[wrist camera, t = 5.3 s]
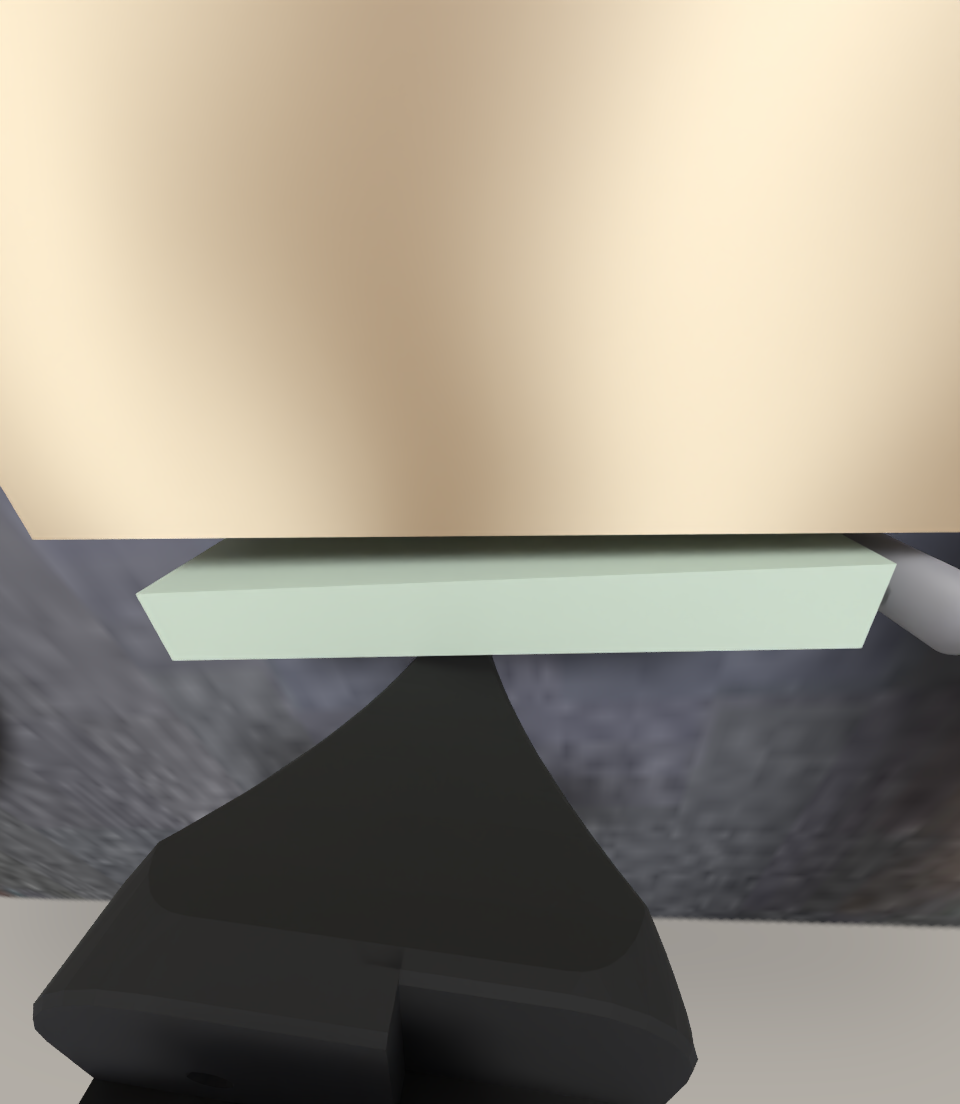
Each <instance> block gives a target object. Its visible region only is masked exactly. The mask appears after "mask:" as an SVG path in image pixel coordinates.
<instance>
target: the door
mask: <svg viewBox="0 0 960 1104" xmlns="http://www.w3.org/2000/svg"><path fill="white" fill-rule="evenodd" d="M136 596H137V597H138V599H139V601H140V603H141V605H142V606H143V608H144V610H145V612H146V614H147V615H148V617H149V619H150V621H151V623H152V624H153V626H154V628H155V630H156V632H157V633H158V635H159V637H160V639H161V641H162V642H163V644H164V646H165V648H166V649H167V651H168V653H169V655H170V657H171V658H172V660H173V661H174V660H229V659H285V658H340V657H396V656H451V655H507V654H563V653H618V652H674V651H729V650H785V649H840V648H862V646H863V644H864V641H865V639H866V637H867V634H868V632H869V629H870V627H871V625H872V622H873V620H874V617H875V615H876V613H877V610H878V611H880V612H881V613H882V614H884V615H885V616H887V617H888V618H890V619H891V620H893V621H894V622H895V623H897V624H898V625H900V626H901V627H903V628H904V629H906V630H907V631H908V632H910V633H911V634H913V635H914V636H916V637H917V638H919V639H920V640H921V641H923V642H924V643H926V644H927V645H929V646H930V647H932V648H933V649H934V650H936V651H938V652H940V653H944V654H949V655H960V570H959V569H957V568H955V567H953V566H951V565H949V564H947V563H945V562H943V561H940V560H938V559H936V558H934V557H932V556H930V555H928V554H926V553H924V552H921V551H919V550H917V549H915V548H913V547H911V546H909V545H907V544H905V543H902V542H900V541H898V540H896V539H894V538H892V537H890V536H888V535H886V534H883V533H787V534H665V535H542V536H419V537H297V538H225V539H224V540H222V541H221V542H219V543H217V544H216V545H214V546H212V547H211V548H209V549H208V550H206V551H204V552H203V553H201V554H200V555H198V556H196V557H195V558H193V559H191V560H190V561H188V562H187V563H185V564H183V565H182V566H180V567H179V568H177V569H175V570H174V571H172V572H171V573H169V574H167V575H166V576H164V577H162V578H161V579H159V580H158V581H156V582H154V583H153V584H151V585H150V586H148V587H146V588H145V589H143V590H141V591H140V592H138V593H137V594H136Z"/></svg>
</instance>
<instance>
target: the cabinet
mask: <svg viewBox="0 0 960 1104" xmlns="http://www.w3.org/2000/svg"><path fill="white" fill-rule="evenodd" d="M0 486H1V487H2V489H3V491H4V492H5V494H6V496H7V497H8V499H9V501H10V502H11V504H12V506H13V507H14V509H15V511H16V512H17V514H18V516H19V517H20V519H21V521H22V522H23V524H24V526H25V527H26V529H27V531H28V532H29V534H30V536H31V537H32V539H33V540H51V539H174V538H297V537H419V536H542V535H665V534H787V533H910V532H960V0H0Z"/></svg>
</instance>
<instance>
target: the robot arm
mask: <svg viewBox="0 0 960 1104" xmlns="http://www.w3.org/2000/svg"><path fill="white" fill-rule="evenodd" d="M33 1021H34V1027H35V1030H36V1031H37V1032H38V1033H39V1034H40V1035H41V1036H42V1037H43V1038H44V1039H45V1040H46V1041H47V1042H49V1043H50V1044H51V1045H52V1046H54V1047H55V1048H56V1049H57V1050H59V1051H60V1052H61V1053H63V1054H64V1055H65V1056H67V1057H68V1058H69V1059H70V1060H72V1061H73V1062H74V1063H75V1064H77V1065H78V1066H79V1067H80V1068H82V1069H83V1070H84V1071H86V1072H87V1073H88V1074H89V1075H91V1076H92V1077H93V1078H94V1079H93V1080H92V1082H91V1084H90V1085H89V1087H88V1089H87V1091H86V1092H85V1094H84V1096H83V1097H82V1099H81V1101H80V1103H79V1104H666V1103H667V1102H668V1101H669V1100H670V1099H671V1098H672V1097H673V1096H674V1095H675V1094H676V1093H677V1092H678V1091H679V1090H680V1089H681V1088H682V1087H683V1086H684V1085H685V1084H686V1083H687V1082H688V1080H689V1077H690V1075H691V1074H692V1072H693V1070H694V1067H695V1065H696V1062H697V1060H698V1058H697V1055H696V1051H695V1048H694V1044H693V1038H692V1032H691V1028H690V1024H689V1020H688V1016H687V1012H686V1009H685V1006H684V1003H683V1000H682V997H681V994H680V991H679V989H678V985H677V982H676V979H675V976H674V974H673V971H672V968H671V965H670V963H669V960H668V957H667V954H666V952H665V949H664V947H663V944H662V942H661V939H660V937H659V934H658V932H657V929H656V927H655V925H654V922H653V919H652V917H651V915H650V912H649V910H648V908H647V906H646V905H645V904H644V902H643V901H642V900H641V898H640V897H639V896H638V895H637V893H636V892H635V891H634V890H633V888H632V887H631V886H630V885H629V883H628V882H627V881H626V880H625V878H624V877H623V876H622V875H621V873H620V872H619V871H618V869H617V868H616V867H615V866H614V864H613V863H612V862H611V860H610V859H609V858H608V856H607V855H606V854H605V852H604V851H603V850H602V848H601V847H600V846H599V844H598V843H597V842H596V840H595V839H594V838H593V836H592V835H591V834H590V832H589V831H588V829H587V828H586V827H585V825H584V824H583V822H582V821H581V819H580V818H579V817H578V815H577V814H576V812H575V811H574V810H573V808H572V807H571V805H570V804H569V803H568V801H567V800H566V798H565V796H564V795H563V793H562V792H561V790H560V789H559V787H558V785H557V784H556V782H555V781H554V779H553V778H552V776H551V774H550V773H549V771H548V770H547V768H546V767H545V765H544V763H543V762H542V760H541V759H540V757H539V756H538V754H537V752H536V750H535V749H534V747H533V745H532V743H531V742H530V740H529V738H528V736H527V734H526V733H525V731H524V729H523V727H522V725H521V723H520V721H519V719H518V717H517V715H516V713H515V711H514V709H513V707H512V705H511V703H510V701H509V699H508V696H507V694H506V692H505V689H504V687H503V685H502V682H501V680H500V677H499V675H498V672H497V669H496V667H495V664H494V661H493V658H492V655H451V656H417V657H416V658H415V660H414V661H413V662H412V663H411V664H410V665H409V666H408V667H407V668H406V669H405V670H404V671H403V672H402V673H401V674H400V675H399V676H398V677H397V678H396V679H395V680H394V681H393V682H392V683H391V684H390V685H389V686H388V687H387V688H386V689H385V690H384V691H383V692H382V693H381V694H379V695H378V696H377V697H376V698H375V699H374V700H373V701H371V702H370V703H369V704H368V705H367V706H366V707H365V708H363V709H362V710H361V711H360V712H359V713H357V714H356V715H355V716H354V717H352V718H351V719H350V720H349V721H347V722H346V723H345V724H344V725H342V726H341V727H340V728H339V729H337V730H336V731H335V732H333V733H332V734H331V735H329V736H328V737H327V738H325V739H324V740H323V741H321V742H320V743H319V744H317V745H316V746H315V747H313V748H312V749H310V750H309V751H307V752H306V753H304V754H303V755H301V756H300V757H298V758H297V759H295V760H294V761H292V762H291V763H289V764H288V765H287V766H285V767H284V768H282V769H281V770H279V771H278V772H276V773H275V774H273V775H272V776H270V777H269V778H267V779H266V780H264V781H263V782H261V783H260V784H258V785H256V786H255V787H253V788H252V789H250V790H249V791H247V792H245V793H244V794H242V795H240V796H238V797H237V798H235V799H233V800H232V801H230V802H228V803H226V804H225V805H223V806H221V807H220V808H218V809H216V810H214V811H213V812H211V813H209V814H208V815H206V816H204V817H202V818H201V819H199V820H197V821H196V822H194V823H192V824H190V825H189V826H187V827H185V828H184V829H182V830H180V831H178V832H177V833H175V834H173V835H171V836H169V837H167V838H166V839H164V840H162V841H160V842H158V844H157V845H156V846H155V847H154V848H153V850H152V851H151V852H150V853H149V855H148V856H147V857H146V858H145V859H144V860H143V862H142V863H141V864H140V865H139V866H138V867H137V869H136V870H135V871H134V872H133V873H132V874H131V876H130V877H129V878H128V879H127V880H126V881H125V883H124V884H123V885H122V887H121V888H120V889H119V891H118V892H117V893H116V895H115V896H114V897H113V898H112V900H111V901H110V902H109V904H108V905H107V906H106V908H105V909H104V910H103V912H102V913H101V914H100V916H99V917H98V919H97V920H96V921H95V922H94V924H93V925H92V926H91V928H90V929H89V930H88V932H87V933H86V935H85V936H84V937H83V939H82V940H81V941H80V943H79V944H78V945H77V947H76V948H75V949H74V951H73V952H72V953H71V955H70V956H69V957H68V959H67V960H66V961H65V963H64V964H63V965H62V967H61V968H60V969H59V971H58V972H57V974H56V975H55V976H54V977H53V979H52V980H51V982H50V983H49V984H48V985H47V987H46V988H45V989H44V991H43V992H42V993H41V995H40V996H39V997H38V999H37V1000H36V1001H35V1003H34V1004H33Z"/></svg>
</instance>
